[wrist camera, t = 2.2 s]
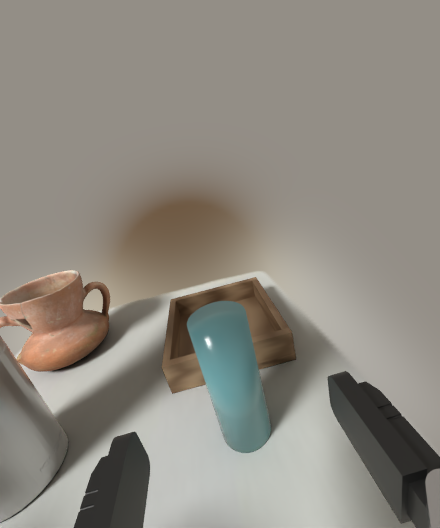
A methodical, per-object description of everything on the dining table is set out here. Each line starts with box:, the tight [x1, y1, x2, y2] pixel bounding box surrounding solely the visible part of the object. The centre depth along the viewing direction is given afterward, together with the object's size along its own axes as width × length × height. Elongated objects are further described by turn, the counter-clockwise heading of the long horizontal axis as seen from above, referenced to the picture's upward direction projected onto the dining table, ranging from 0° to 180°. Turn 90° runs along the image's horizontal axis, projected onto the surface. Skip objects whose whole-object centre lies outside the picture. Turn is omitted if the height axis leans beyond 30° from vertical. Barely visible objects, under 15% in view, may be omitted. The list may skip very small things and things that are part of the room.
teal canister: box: [187, 301, 271, 453], centre depth 24 cm, size 5×5×14 cm
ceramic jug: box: [0, 270, 110, 371], centre depth 45 cm, size 18×14×14 cm
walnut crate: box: [162, 277, 296, 393], centre depth 41 cm, size 17×18×4 cm
